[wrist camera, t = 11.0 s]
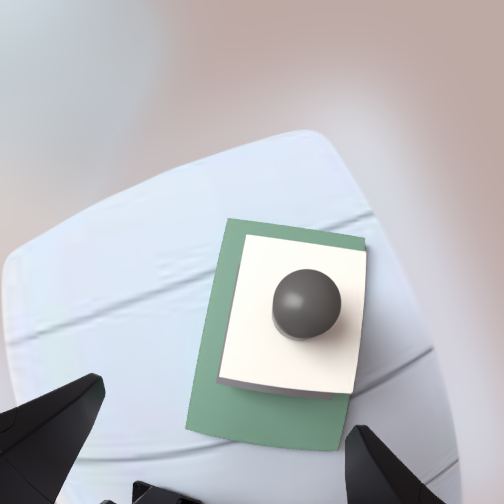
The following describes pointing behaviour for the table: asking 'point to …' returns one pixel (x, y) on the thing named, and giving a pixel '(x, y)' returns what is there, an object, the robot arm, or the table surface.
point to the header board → (251, 394)
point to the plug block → (296, 316)
